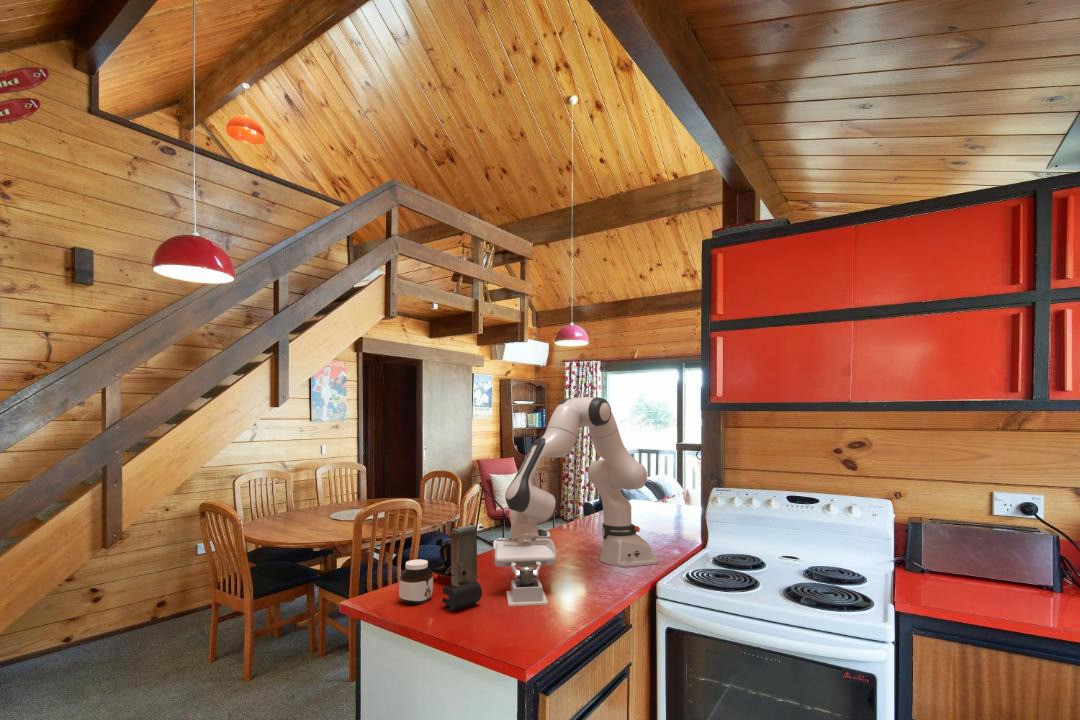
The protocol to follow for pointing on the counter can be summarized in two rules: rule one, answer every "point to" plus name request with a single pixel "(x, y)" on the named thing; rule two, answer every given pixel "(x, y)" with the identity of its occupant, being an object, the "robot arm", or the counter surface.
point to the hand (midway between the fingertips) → (526, 577)
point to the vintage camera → (459, 555)
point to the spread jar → (416, 582)
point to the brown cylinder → (526, 576)
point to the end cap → (461, 595)
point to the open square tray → (526, 594)
